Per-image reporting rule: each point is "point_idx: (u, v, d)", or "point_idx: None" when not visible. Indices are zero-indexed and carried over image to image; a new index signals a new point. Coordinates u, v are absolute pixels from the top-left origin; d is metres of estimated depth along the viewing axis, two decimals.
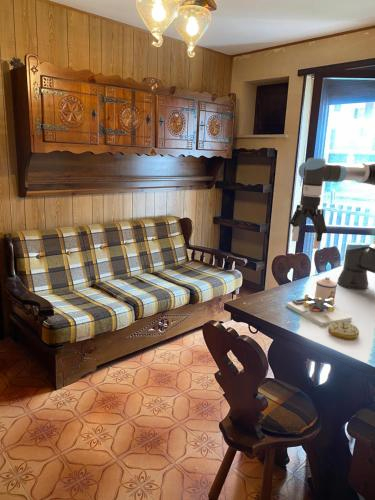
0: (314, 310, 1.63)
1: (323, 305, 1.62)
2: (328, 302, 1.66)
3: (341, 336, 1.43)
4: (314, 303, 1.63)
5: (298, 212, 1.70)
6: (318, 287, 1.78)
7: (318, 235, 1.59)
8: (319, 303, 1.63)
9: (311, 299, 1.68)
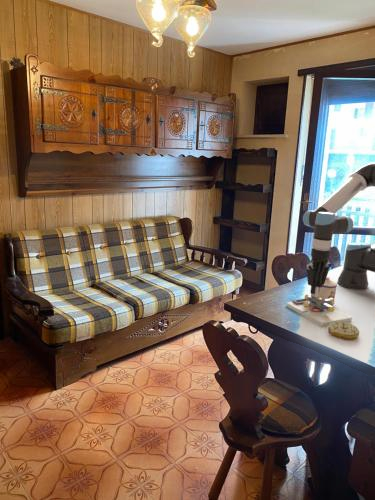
0: (314, 310, 1.63)
1: (323, 305, 1.62)
2: (328, 302, 1.66)
3: (341, 336, 1.43)
4: (314, 303, 1.63)
5: (324, 269, 1.69)
6: None
7: None
8: (319, 303, 1.63)
9: (311, 299, 1.68)
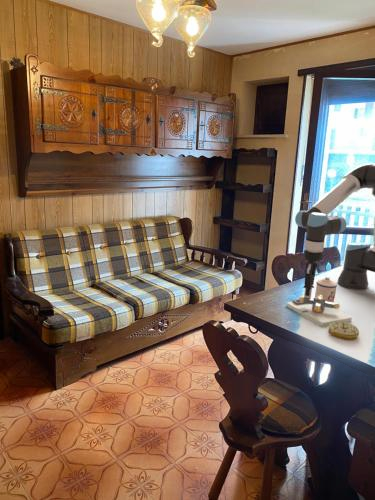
0: (321, 311, 1.62)
1: (327, 304, 1.63)
2: None
3: (341, 336, 1.43)
4: (320, 304, 1.62)
5: None
6: (318, 287, 1.78)
7: (306, 290, 1.67)
8: (323, 303, 1.63)
9: (310, 301, 1.66)
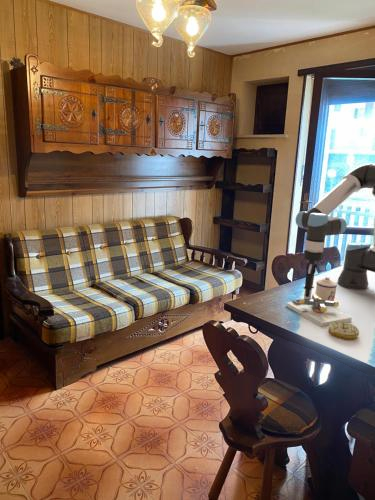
0: (323, 311, 1.62)
1: (328, 303, 1.64)
2: None
3: (341, 336, 1.43)
4: None
5: None
6: (318, 287, 1.78)
7: (306, 290, 1.66)
8: (324, 303, 1.63)
9: (311, 302, 1.64)
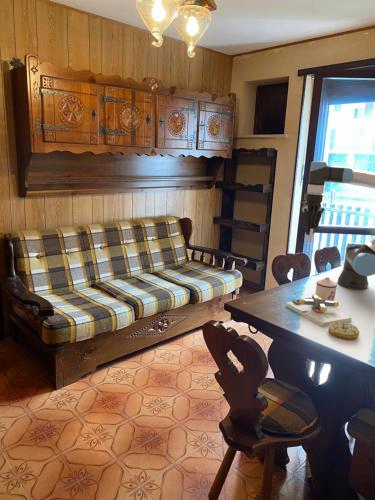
0: (323, 311, 1.62)
1: (328, 303, 1.64)
2: None
3: (341, 336, 1.43)
4: None
5: (318, 213, 1.91)
6: (318, 287, 1.78)
7: None
8: (324, 303, 1.63)
9: (311, 302, 1.64)
